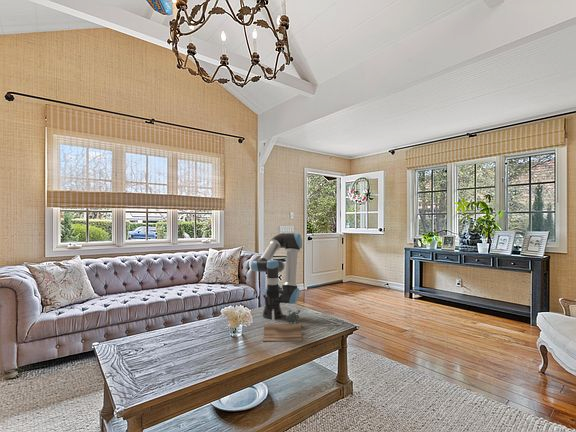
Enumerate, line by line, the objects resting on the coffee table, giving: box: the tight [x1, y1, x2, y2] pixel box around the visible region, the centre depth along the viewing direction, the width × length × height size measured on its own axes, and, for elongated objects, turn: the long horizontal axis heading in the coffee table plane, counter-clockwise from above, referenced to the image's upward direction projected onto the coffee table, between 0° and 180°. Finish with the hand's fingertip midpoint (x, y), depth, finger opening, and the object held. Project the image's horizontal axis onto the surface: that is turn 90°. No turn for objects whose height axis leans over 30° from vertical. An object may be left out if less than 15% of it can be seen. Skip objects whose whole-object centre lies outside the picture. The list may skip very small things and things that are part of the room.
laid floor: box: [262, 334, 303, 343], centre depth 194 cm, size 9×24×1 cm, turn 91°
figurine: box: [285, 309, 303, 327], centre depth 216 cm, size 11×11×12 cm
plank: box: [263, 323, 302, 337], centre depth 202 cm, size 9×24×1 cm
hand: (273, 319), depth 203 cm, fingers closed
